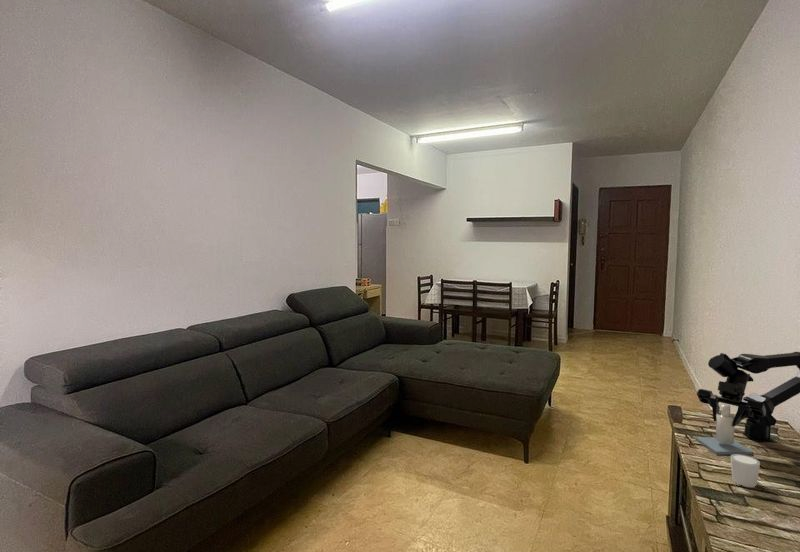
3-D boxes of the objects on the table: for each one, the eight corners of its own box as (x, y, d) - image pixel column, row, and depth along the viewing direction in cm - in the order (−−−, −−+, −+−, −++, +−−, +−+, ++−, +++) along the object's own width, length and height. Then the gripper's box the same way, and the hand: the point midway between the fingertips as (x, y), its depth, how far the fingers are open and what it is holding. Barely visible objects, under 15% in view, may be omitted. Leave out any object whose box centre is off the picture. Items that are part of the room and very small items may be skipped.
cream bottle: (727, 437, 150) (728, 403, 150) (737, 444, 145) (738, 408, 145) (712, 437, 151) (713, 403, 150) (722, 444, 146) (723, 408, 145)
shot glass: (765, 489, 123) (765, 466, 122) (737, 487, 124) (738, 464, 124) (750, 477, 129) (751, 454, 129) (724, 475, 131) (725, 452, 130)
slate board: (730, 440, 154) (730, 437, 154) (753, 454, 143) (753, 451, 143) (695, 439, 154) (695, 437, 154) (716, 454, 144) (716, 451, 143)
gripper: (699, 366, 156) (686, 403, 150) (764, 378, 141) (753, 419, 136) (706, 383, 162) (694, 419, 156) (770, 396, 147) (760, 437, 141)
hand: (723, 423), depth 147 cm, fingers closed on cream bottle, 5 cm apart
